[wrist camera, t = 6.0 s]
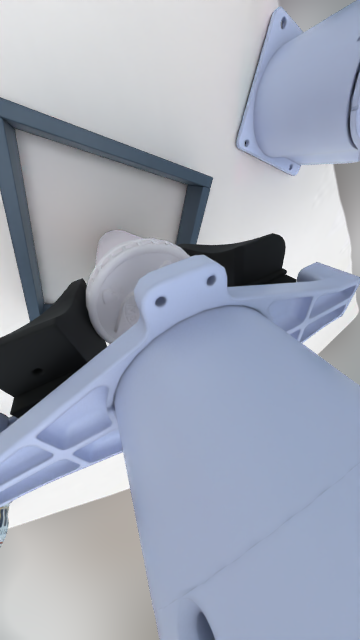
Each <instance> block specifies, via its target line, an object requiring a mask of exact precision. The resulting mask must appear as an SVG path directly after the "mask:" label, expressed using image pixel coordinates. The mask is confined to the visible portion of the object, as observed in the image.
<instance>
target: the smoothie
mask: <svg viewBox="0 0 360 640" xmlns="http://www.w3.org/2000/svg"><path fill="white" fill-rule="evenodd" d="M189 257H190V256H189V255H188V254H187V253H186V252H185V251H184V250H183V249H182V248H181V247H179V246H177V245H175V244H173V243H171V242H169V241H167V240H161V239H155V238H145V239H144V238H141V237H139V236H136V235H133V234H131V233H128V232H126V231H123V230H112V231H109V232H107V233H105V234H104V235H103V236H102V237H101V239H100V240H99V242H98V246H97V255H96V265H95V268H94V270H93V271H92V273H91V274H90V278H89V281H88V284H87V288H86V307H87V310H88V312H89V317H90V321H91V323H92V325H93V327H94V329H95V331H96V332H97V333H98V334H99V336H100V337H101V338H103V339H104V340H105V341H106V342H108V343H109V344H111V343H112V342H114V341H115V340H116V339H117V338H119V337H120V336H121V335H122V334H123V333H125V332H126V331H127V330H128V329H130V328H131V327H132V326H133V325H134V324H136V323H137V322H138V320H139V318H140V313H139V309H138V307H137V304H136V302H135V297H134V288H135V286H136V284H137V282H138V280H139V279H140V278H142V277H143V276H145V275H146V274H147V273H149V272H151V271H154V270H157V269H159V268H162V267H165V266H167V265H170V264H173V263H175V262H178V261H181V260H183V259H186V258H189Z"/></svg>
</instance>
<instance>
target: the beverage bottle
mask: <svg viewBox="0 0 360 640" xmlns="http://www.w3.org/2000/svg"><path fill="white" fill-rule="evenodd" d="M9 504H10V502H9V503H7V504H6V505H4V506H2V507H0V547H1V545H2V543H3V541H4V539H5V537H6V533H7V529H8V523H9V522H8V510H9Z"/></svg>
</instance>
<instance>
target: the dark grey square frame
mask: <svg viewBox="0 0 360 640" xmlns="http://www.w3.org/2000/svg"><path fill="white" fill-rule="evenodd" d="M14 128H16V129H19V130H22V131H26V132H29V133H32V134H35V135H38V136H41V137H44V138H47V139H50V140H53V141H56V142H59V143H62V144H65V145H68V146H71V147H74V148H77V149H80V150H83V151H86V152H89V153H93V154H96V155H99V156H102V157H105V158H108V159H111V160H114V161H117V162H120V163H123V164H126V165H129V166H132V167H135V168H138V169H141V170H144V171H147V172H150V173H153V174H156V175H160V176H163V177H166V178H169V179H172V180H175V181H178V182H181V183H184V184H187V185H188V187H187V192H186V197H185V202H184V206H183V211H182V216H181V221H180V226H179V231H178V236H177V241H176V245H178V244H196V243H197V239H198V235H199V231H200V227H201V223H202V219H203V215H204V211H205V208H206V204H207V200H208V196H209V192H210V188H211V184H212V180H213V178H212V177H210V176H208V175H205V174H202V173H200V172H197V171H194V170H192V169H189V168H186V167H184V166H181V165H178V164H176V163H173V162H170V161H168V160H165V159H163V158H160V157H157V156H155V155H152V154H149V153H147V152H144V151H141V150H139V149H136V148H133V147H131V146H128V145H125V144H123V143H120V142H117V141H115V140H112V139H110V138H107V137H104V136H102V135H99V134H96V133H94V132H91V131H88V130H86V129H83V128H80V127H78V126H75V125H72V124H70V123H67V122H64V121H62V120H59V119H57V118H54V117H51V116H49V115H46V114H43V113H41V112H38V111H35V110H33V109H30V108H27V107H25V106H22V105H19V104H17V103H14V102H11V101H9V100H6V99H4V98H1V97H0V191H1V195H2V200H3V204H4V209H5V213H6V217H7V222H8V226H9V231H10V235H11V239H12V244H13V248H14V253H15V257H16V261H17V266H18V270H19V275H20V279H21V283H22V288H23V292H24V297H25V301H26V305H27V310H28V314H29V319H30V322H31V321H33V320H34V319H36V318H37V317H38V316H40V315H41V314H43V313H44V312H45V311H46V310H47V309H49V308H50V307H51V306H52V305H53V304H44V299H43V293H42V288H41V282H40V276H39V270H38V264H37V258H36V252H35V247H34V241H33V235H32V229H31V223H30V217H29V211H28V206H27V200H26V194H25V188H24V182H23V176H22V170H21V165H20V159H19V153H18V147H17V141H16V135H15V129H14Z"/></svg>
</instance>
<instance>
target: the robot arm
mask: <svg viewBox="0 0 360 640" xmlns="http://www.w3.org/2000/svg"><path fill="white" fill-rule="evenodd" d="M281 21H282V28H281ZM245 141H246V146H245ZM236 145H237V147H238V148H239V149H241V150H243V151H245V152H246V153H248V154H250V155H252V156H254V157H256V158H258V159H260V160H262V161H264V162H266V163H268V164H270V165H272V166H274V167H276V168H278V169H280V170H282V171H284V172H286V173H288V174H290V175H296V174H297V173H298V171H299V169H300V166H301V165H315V164H336V163H337V164H338V163H353V162H358V161H360V0H356V1H354V2H353V3H351V4H350V5H348V6H346V7H345V8H343V9H341V10H340V11H338V12H336V13H335V14H333V15H331V16H330V17H328V18H327V19H325V20H323V21H322V22H320V23H319V24H317V25H315V26H314V27H312V28H310V29H309V30H307V31H305V32H303V31H302V30H301V29H300V28H299V26H298V25H297V24H296V23H295V22H294V21H293V19H291V17H290V16H289V15H288V14H287V12H286V11H285V10H284V9H283V8H282V7H278V8H277V9H276V10H275V11H274V12H273V14H272V17H271V21H270V24H269V28H268V31H267V35H266V38H265V42H264V45H263V49H262V52H261V56H260V59H259V63H258V66H257V70H256V74H255V77H254V81H253V84H252V88H251V91H250V95H249V98H248V102H247V105H246V109H245V112H244V116H243V119H242V123H241V126H240V130H239V133H238V137H237V141H236ZM289 166H290V168H289ZM177 246H179V247H181V248H182V249H183V250H184V251H185V252H186V253H187V254H188V255H189V256H190V257H189V258H186V259H183V260H181V261H178V262H175V263H173V264H170V265H167V266H165V267H162V268H159V269H157V270H154V271H151V272H149V273H147V274H146V275H145V276H143V277H142V278H140V279H139V280H138V282H137V284H136V286H135V288H134V297H135V302H136V304H137V307H138V309H139V313H140V318H139V320H138V322H137V323H136V324H134V325H133V326H132V327H131V328H130V329H128V330H127V331H126V332H125V333H123V334H122V335H121V336H120V337H119V338H117V339H116V340H115V341H114V342H112V343H111V344H110V345H109V346H107V345H106V342H105V340H104V339H103V338H101V337H100V336H99V334H98V333H97V332H96V331H95V329H94V327H93V325H92V323H91V321H90V317H89V312H88V310H87V307H86V288H87V285H86V283H85V281H84V280H83V278H82V279H80V280H77V281H74V282H72V283H71V284H70V285H69V286H68V288H67V289H66V290H65V291H64V293H63V294H62V295H61V296H60V297H59V298H58V300H57V301H56V302H55V303H54V304H53V305H52V306H51V307H50V308H49V309H47V310H46V311H45V312H44V313H43V314H41V315H40V316H38V317H37V318H36V319H34V320H33V321H31V322H30V323H28V324H26V325H25V326H23V327H21V328H19V329H18V330H16V331H14V332H12V333H10V334H8V335H6V336H4V337H1V338H0V389H1V390H3V391H5V392H6V393H8V394H10V395H11V396H13V397H14V400H13V404H12V408H11V412H10V414H11V415H13V416H12V417H10V418H9V417H7V416H6V415H4V414H2V413H0V507H2V506H4V505H6V504H7V503H9V502H11V501H13V500H15V499H17V498H19V497H21V496H23V495H25V494H27V493H29V492H31V491H33V490H35V489H37V488H39V487H41V486H43V485H46V484H48V483H50V482H53V481H55V480H57V479H59V478H62V477H64V476H66V475H69V474H71V473H74V472H76V471H78V470H81V469H83V468H86V467H88V466H90V465H93V464H95V463H98V462H100V461H102V460H105V459H107V458H110V457H112V456H114V455H117V454H119V453H122V452H123V453H124V459H125V464H126V469H127V474H128V480H129V485H130V490H131V495H132V500H133V506H134V511H135V516H136V521H137V527H138V532H139V537H140V542H141V547H142V553H143V558H144V563H145V568H146V574H147V579H148V584H149V589H150V594H151V600H152V605H153V609H154V613H155V619H156V624H157V629H158V634H159V639H160V640H360V385H358V384H357V383H356V382H354V381H353V380H351V379H350V378H349V377H347V376H346V375H345V374H343V373H342V372H340V371H339V370H338V369H336V368H335V367H333V366H332V365H331V364H329V363H328V362H327V361H325V360H324V359H323V358H321V357H320V356H318V355H317V354H316V353H314V352H313V351H312V350H310V349H309V348H308V347H306V346H305V345H303V344H302V343H303V342H305V341H306V340H307V339H308V338H310V337H311V336H312V335H314V334H315V333H316V332H318V331H319V330H321V329H322V328H323V327H325V326H326V325H328V324H329V323H331V322H333V321H334V320H336V319H338V318H339V317H341V316H342V315H343V314H344V312H345V310H346V308H347V306H348V304H349V303H350V301H351V299H352V297H353V295H354V293H355V292H356V290H357V288H358V286H359V284H360V277H358V276H355V275H352V274H349V273H347V272H344V271H341V270H338V269H335V268H332V267H330V266H327V265H324V264H321V263H318V262H316V263H314V264H311V265H309V266H307V267H305V268H303V269H302V270H301V271H300V272H299V274H298V277H297V282H296V279H294V278H292V277H290V276H288V275H285V274H286V273H287V271H286V270H285V269H283V268H282V265H283V260H284V255H285V241H284V239H283V238H282V237H281V236H280V235H277V234H273V233H272V234H269V235H266V236H263V237H260V238H256V239H253V240H249V241H245V242H240V243H234V244H226V245H197V244H178V245H177Z"/></svg>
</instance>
